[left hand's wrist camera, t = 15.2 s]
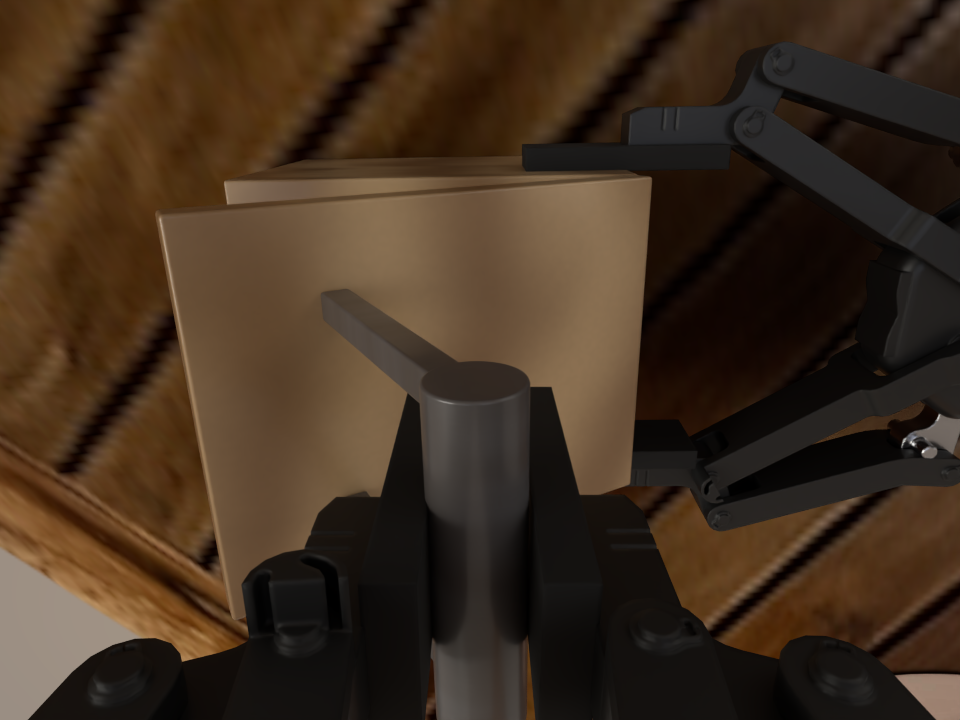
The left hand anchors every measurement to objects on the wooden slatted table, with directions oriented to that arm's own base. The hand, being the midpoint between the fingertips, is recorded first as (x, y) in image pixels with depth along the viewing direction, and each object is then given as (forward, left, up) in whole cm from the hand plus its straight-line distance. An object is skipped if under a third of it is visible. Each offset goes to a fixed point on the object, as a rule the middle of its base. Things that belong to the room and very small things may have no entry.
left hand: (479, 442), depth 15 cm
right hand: (-1, +1, -10) cm, 10 cm away
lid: (+1, -1, -4) cm, 4 cm away
